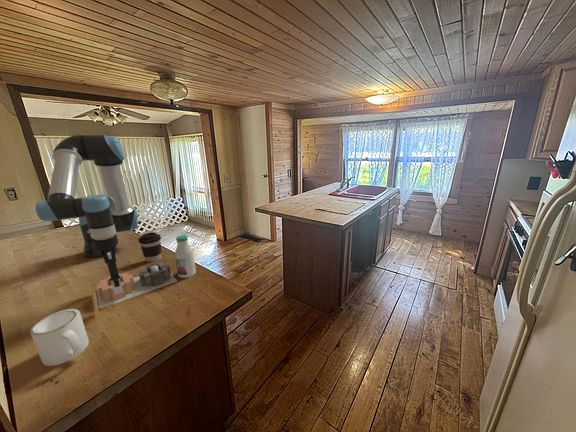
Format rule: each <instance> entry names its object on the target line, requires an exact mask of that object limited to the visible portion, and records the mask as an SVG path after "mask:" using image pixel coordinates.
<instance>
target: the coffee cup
mask: <svg viewBox="0 0 576 432" xmlns="http://www.w3.org/2000/svg"><path fill="white" fill-rule="evenodd" d="M161 239H162V236H161V235H160V234H158V233H157V232H155V231H154V232H152V231H151V232H146V233H143V234H142V235H141V237H139V238H138V239H137V240H138V241H137V242H138V243H139V244H140V248H141V250H142V251H141V252H142V254H143V257H144V261H145V263H151V262H156V261H158V260H160V259H162V245H161V244H162V243H161Z"/></svg>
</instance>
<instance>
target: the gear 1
mask: <svg viewBox="0 0 576 432" xmlns="http://www.w3.org/2000/svg"><path fill="white" fill-rule="evenodd" d="M119 276H120V281H121V285H122V289H123V292H121V293H118V294H116V295H115V294H114V290H113V286H112V285H111V281H109V279H110V278H111V276H110V275H109V276H107V278H105V279H104V278H103V279H102V280H101V279H100V282H99V283H96V286H97V288H96V289H98V292H99V295H100V299H101V300H102V299H105V302H106V301H109V300H112V299H114V300H117V299H120V298H122V297H125V296H126V295H127V294H129V293H132V292H133V290H132V289H135V284H134V280H133V278H134V277H133V273H132V274H131V273H129V274H128V272H124V273H121V274H120V273H119ZM109 289H110V290H109ZM126 292H127V293H126ZM110 293H111V294H110ZM111 297H112V298H111Z"/></svg>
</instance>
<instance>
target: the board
mask: <svg viewBox="0 0 576 432" xmlns="http://www.w3.org/2000/svg"><path fill="white" fill-rule="evenodd" d="M150 270H151V273H152V272H156V271H159V270H158V266H152V267H150ZM133 280H134V284H135V289H132V290H133V292H132V293H129V294H127V295H126V296H125V297H122V298H120V299H117V300H114V299H112V300H109V301H106V302H105V299H102V300H101V299H100V295H99V292H98V288H96V296H97V303H98V309H99V310H101V309H103V308H107V307H109V306H112V305H114V304H117V303H121V302H124V301H126V300H128V299H132V298H134V297H137V296H140V295H143V294H146V293H148V292H152V291H153V290H157V289H160V288H162V287H166V286H169V285H170V284H174V283H177V282H178V280H177V279H176V278H175V276H174V275H173V274H172V273H171V277H170V280H168V281H165V283H163V284H160V285H157V286H154V285H152V286H150V287H147V286H146V285H144V286H142V284H141V282H140V277H139V275H138V276H135V277H133ZM111 285H112V282H111ZM109 290H110V289H109ZM126 293H127V292H126ZM110 294H111V293H110ZM111 298H112V297H111Z"/></svg>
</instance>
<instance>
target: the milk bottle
mask: <svg viewBox="0 0 576 432" xmlns="http://www.w3.org/2000/svg"><path fill="white" fill-rule="evenodd" d="M188 239H189V238H188V235H187V234H181V235H177V236H176V240H175V241H176V244H177V246H176V249H175V251H174V256H175V257H174V258H175V265H176V270H177V272H176V273H177V276H178V277H179V278H181V279H184V278H185V279H186V278H191V277H192V276H194V275H195V274H196V272H197V270H196V264H195V263H196V262H195V254H194V252H193V249H192V247H191V246H190V244H189V242H188V241H189V240H188Z"/></svg>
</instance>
